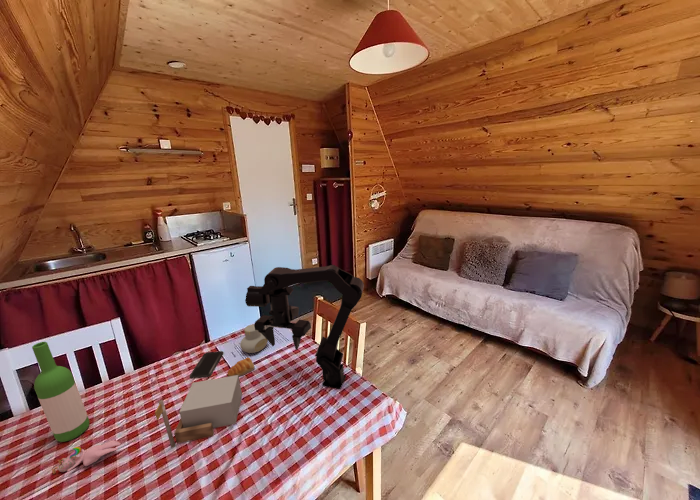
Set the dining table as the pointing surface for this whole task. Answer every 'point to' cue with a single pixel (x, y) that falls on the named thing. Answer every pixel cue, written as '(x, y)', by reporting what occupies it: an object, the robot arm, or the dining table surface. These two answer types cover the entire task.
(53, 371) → the wine bottle
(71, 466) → the rabbit figure
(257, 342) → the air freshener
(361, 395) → the dining table surface
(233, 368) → the pastry
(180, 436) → the walnut pocket
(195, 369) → the phone
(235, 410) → the beige box
